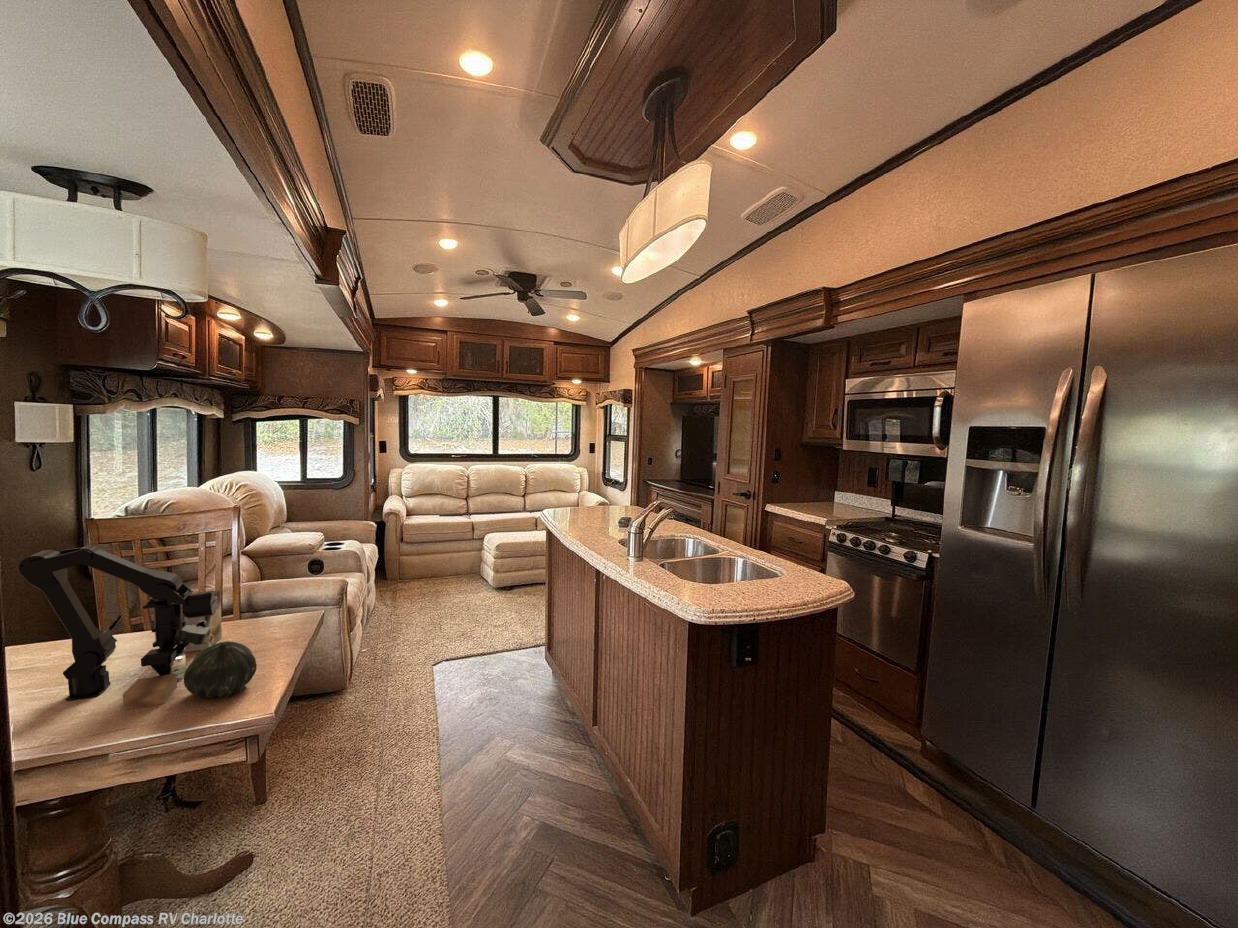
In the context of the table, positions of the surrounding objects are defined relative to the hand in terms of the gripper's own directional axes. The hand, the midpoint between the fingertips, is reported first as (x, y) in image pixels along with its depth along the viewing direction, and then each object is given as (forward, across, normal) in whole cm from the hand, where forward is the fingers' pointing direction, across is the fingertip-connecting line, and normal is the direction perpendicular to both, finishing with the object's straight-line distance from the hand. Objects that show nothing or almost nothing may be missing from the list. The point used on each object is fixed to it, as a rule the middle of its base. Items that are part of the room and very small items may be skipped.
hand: (172, 674), depth 140 cm
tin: (+1, 0, 0) cm, 1 cm away
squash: (+2, -12, -15) cm, 19 cm away
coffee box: (+2, +22, -1) cm, 22 cm away
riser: (+1, -10, +1) cm, 10 cm away
